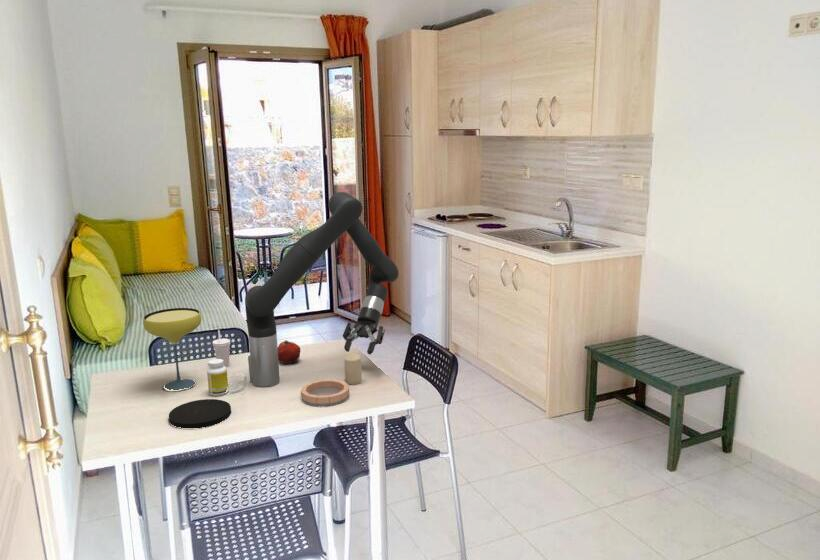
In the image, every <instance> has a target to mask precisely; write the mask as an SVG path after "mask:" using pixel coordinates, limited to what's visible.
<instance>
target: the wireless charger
mask: <svg viewBox="0 0 820 560" xmlns="http://www.w3.org/2000/svg"><path fill="white" fill-rule="evenodd" d="M230 414H232V407H231V404H230V403H229V402H227V401H225V400H222V399H215V398H207V399H205V398H204V399H198V400H197V399H196V400H191V401H188V402H185V403H181V404H180V405H178V406H175V407H174V408H172V409H171V410H170V412H169V413H168V421H169V424H170V423H171V424H172V425H174V426H176V427H175V428H177V427H181V428H199V429H203V428H202V427H205V428H208V427H213V426H215V424H216V425H218V424H220V422H221V423H223V422H224V421H226V420H227V419H228V418H230V416H231V415H230ZM225 419H226V420H225ZM222 421H223V422H222ZM171 424H170V425H171ZM172 425H171V426H172ZM174 426H173V427H174ZM181 428H180V429H181Z"/></svg>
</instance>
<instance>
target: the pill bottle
mask: <svg viewBox="0 0 820 560" xmlns="http://www.w3.org/2000/svg"><path fill="white" fill-rule="evenodd" d="M223 365H224V361H223V359H217V358H213V359H210V360H209V361H208V368H207V370H206V376H207V385H208V393H209V395H211V396H212V395H213V397H219V396H220V395H221V396H224V395H226V394H225V392H226V390H227V387H228V388H229V380H228V369H227V367H225V366H223Z"/></svg>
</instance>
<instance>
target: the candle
mask: <svg viewBox="0 0 820 560" xmlns="http://www.w3.org/2000/svg"><path fill="white" fill-rule="evenodd" d="M343 359H344V360H343V361H344V380H345V381H344V382H345V383H347V384H348V385H350V386H351V385H352V386H353V385H359V384H361V383H362V358H361V356H360V355H359V354H358V353H356V352H349V353H347V354H346V355H345V357H343Z"/></svg>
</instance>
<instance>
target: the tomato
mask: <svg viewBox="0 0 820 560" xmlns="http://www.w3.org/2000/svg"><path fill="white" fill-rule="evenodd" d="M277 346H278V361H279V362H280V363H286V364H289V363H295V362H297V361H298V360H299V358H300V357H301V356H300V355H301V347H300V345H298V344H297V343H295V342H292V341H289V340H284V341H282V342H280V343H279V344H278V345H277Z"/></svg>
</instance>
